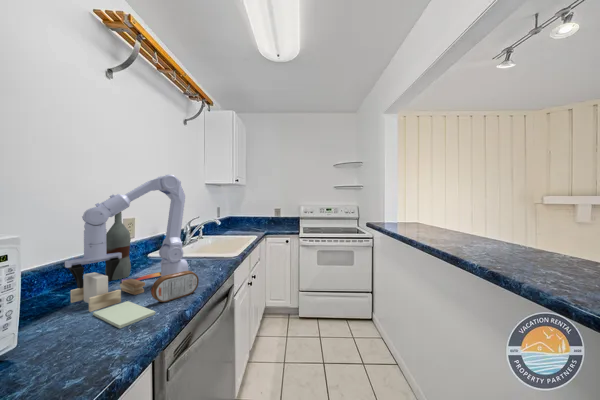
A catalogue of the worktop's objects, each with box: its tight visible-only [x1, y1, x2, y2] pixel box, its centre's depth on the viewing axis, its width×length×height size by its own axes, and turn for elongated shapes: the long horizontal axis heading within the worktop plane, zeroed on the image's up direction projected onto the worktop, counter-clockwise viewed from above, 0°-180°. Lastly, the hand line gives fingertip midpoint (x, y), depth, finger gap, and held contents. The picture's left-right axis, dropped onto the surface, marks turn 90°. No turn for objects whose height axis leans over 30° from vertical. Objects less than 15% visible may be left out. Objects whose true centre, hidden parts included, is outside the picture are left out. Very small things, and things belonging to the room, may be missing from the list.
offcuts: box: [119, 279, 146, 296], centre depth 88 cm, size 3×11×4 cm, turn 61°
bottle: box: [104, 211, 132, 281], centre depth 106 cm, size 9×9×30 cm
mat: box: [92, 300, 156, 329], centre depth 69 cm, size 9×16×1 cm, turn 60°
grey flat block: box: [83, 272, 109, 304], centre depth 78 cm, size 3×10×9 cm, turn 60°
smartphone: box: [120, 271, 161, 284], centre depth 103 cm, size 7×15×1 cm, turn 128°
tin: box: [150, 270, 200, 303], centre depth 81 cm, size 15×3×8 cm, turn 141°
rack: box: [70, 286, 122, 313], centre depth 78 cm, size 8×15×4 cm, turn 60°
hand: (95, 284), depth 78 cm, fingers open, 7 cm apart
